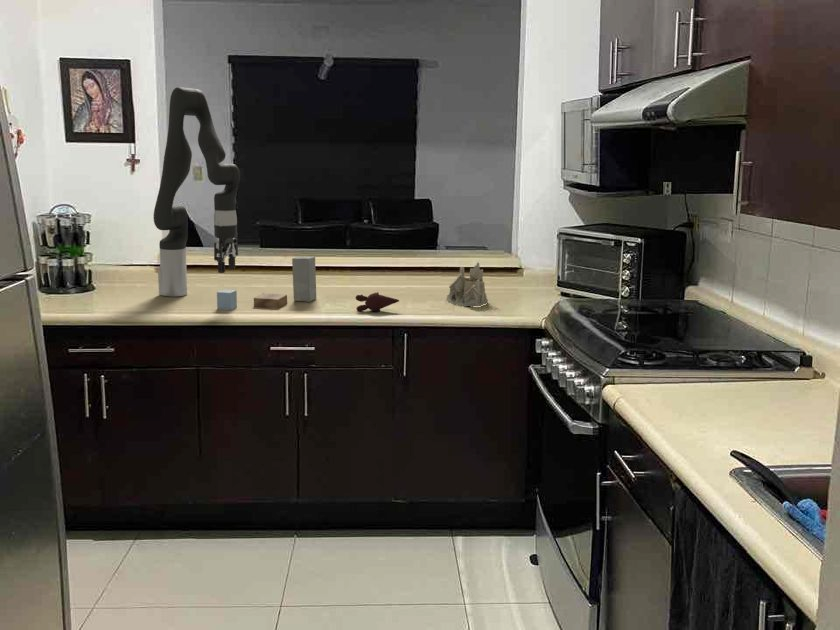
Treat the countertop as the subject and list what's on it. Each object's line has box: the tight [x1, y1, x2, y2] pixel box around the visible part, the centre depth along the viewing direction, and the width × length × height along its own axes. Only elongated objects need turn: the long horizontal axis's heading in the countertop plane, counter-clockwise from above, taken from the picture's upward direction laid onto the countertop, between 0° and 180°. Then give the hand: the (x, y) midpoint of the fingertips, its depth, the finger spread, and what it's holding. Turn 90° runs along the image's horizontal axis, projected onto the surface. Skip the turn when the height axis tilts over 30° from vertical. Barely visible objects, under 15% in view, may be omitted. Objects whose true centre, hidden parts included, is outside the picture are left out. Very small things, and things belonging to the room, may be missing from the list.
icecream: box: [355, 291, 400, 313], centre depth 301 cm, size 7×7×15 cm
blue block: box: [216, 289, 238, 311], centre depth 299 cm, size 5×5×6 cm
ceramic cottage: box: [446, 262, 489, 307], centre depth 319 cm, size 16×16×15 cm
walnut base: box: [253, 292, 288, 309], centre depth 307 cm, size 9×9×4 cm
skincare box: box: [291, 255, 317, 303], centre depth 316 cm, size 8×7×16 cm
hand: (226, 270), depth 297 cm, fingers open, 8 cm apart
